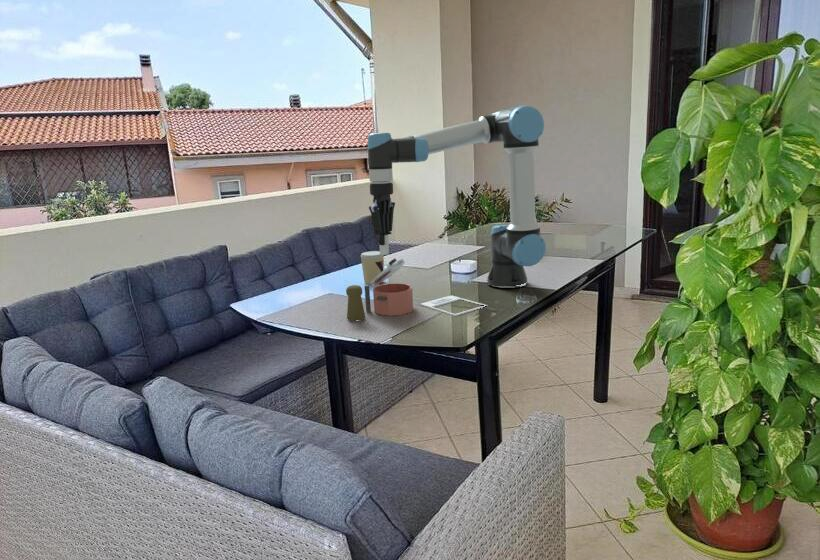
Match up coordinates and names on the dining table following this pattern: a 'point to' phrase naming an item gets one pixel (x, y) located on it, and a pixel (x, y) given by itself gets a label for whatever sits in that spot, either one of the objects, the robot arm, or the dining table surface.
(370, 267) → the coffee cup
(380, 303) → the pot
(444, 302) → the photo frame
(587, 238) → the dining table surface
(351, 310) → the cork
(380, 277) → the lid
